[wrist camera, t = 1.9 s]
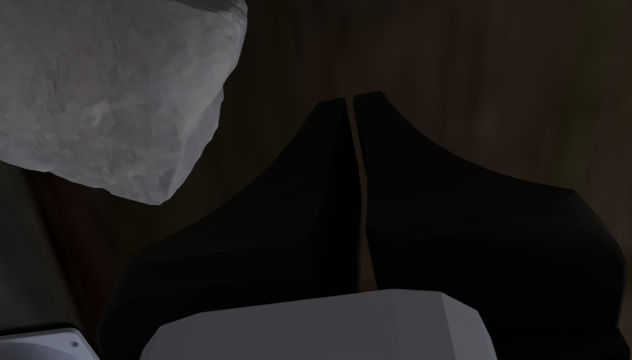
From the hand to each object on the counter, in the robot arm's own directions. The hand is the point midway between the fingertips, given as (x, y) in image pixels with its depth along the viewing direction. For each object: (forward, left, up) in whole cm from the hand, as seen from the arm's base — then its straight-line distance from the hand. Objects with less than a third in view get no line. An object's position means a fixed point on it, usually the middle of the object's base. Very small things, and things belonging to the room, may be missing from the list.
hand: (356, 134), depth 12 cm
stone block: (+1, +11, -9) cm, 14 cm away
